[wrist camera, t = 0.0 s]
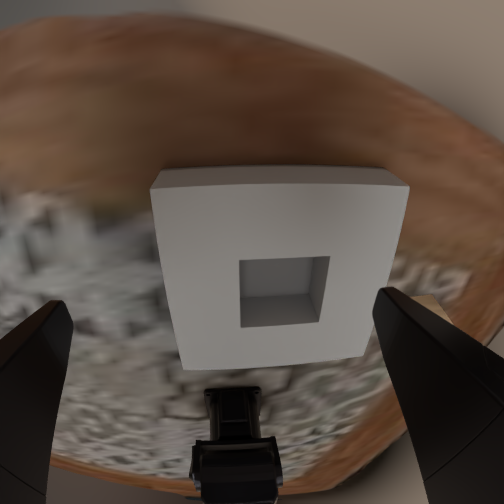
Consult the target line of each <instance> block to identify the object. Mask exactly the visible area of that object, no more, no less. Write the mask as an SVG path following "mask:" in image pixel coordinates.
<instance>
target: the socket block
mask: <svg viewBox="0 0 504 504" xmlns="http://www.w3.org/2000/svg"><path fill="white" fill-rule="evenodd" d="M409 189H410V186H409V185H407V184H406V183H404V182H403V181H402V180H400V179H399V178H398V177H396V176H395V175H393V174H392V173H390V172H389V171H388V170H386V169H385V168H381V167H363V166H341V165H299V164H267V165H224V166H201V167H183V168H168V169H161V171H160V173H159V174H158V176H157V178H156V179H155V181H154V183H153V185H152V186H151V188H150V195H151V203H152V210H153V217H154V224H155V231H156V237H157V243H158V250H159V256H160V261H161V267H162V273H163V278H164V284H165V289H166V294H167V299H168V304H169V309H170V314H171V319H172V323H173V328H174V332H175V337H176V341H177V346H178V350H179V354H180V358H181V362H182V366H183V370H219V369H241V368H258V367H271V366H283V365H294V364H304V363H313V362H321V361H329V360H337V359H344V358H351V357H358V356H363V354H364V351H365V349H366V346H367V343H368V340H369V338H370V335H371V332H372V329H373V326H374V321H373V317H372V310H373V306H374V303H375V299H376V296H377V292H378V290H379V289H380V288H382V287H386V285H387V281H388V278H389V274H390V271H391V267H392V263H393V260H394V256H395V252H396V248H397V244H398V240H399V236H400V231H401V227H402V223H403V218H404V214H405V209H406V204H407V199H408V194H409Z"/></svg>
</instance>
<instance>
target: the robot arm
mask: <svg viewBox="0 0 504 504" xmlns="http://www.w3.org/2000/svg"><path fill="white" fill-rule="evenodd" d="M372 317H373V321H374V324H375V328H376V332H377V335H378V339H379V343H380V347H381V351H382V355H383V358H384V361H385V364H386V367H387V370H388V373H389V375H390V378H391V381H392V384H393V387H394V389H395V392H396V395H397V398H398V401H399V404H400V407H401V410H402V413H403V416H404V419H405V422H406V425H407V428H408V431H409V434H410V437H411V441H412V444H413V447H414V451H415V453H416V457H417V461H418V464H419V467H420V471H421V475H422V478H423V481H424V482H423V483H424V486H425V490H426V494H427V498H428V502H429V504H504V358H502V357H501V356H499V355H497V354H496V353H495V352H493V351H492V350H490V349H489V348H487V347H486V346H483V345H482V344H481V343H480V342H478V341H477V340H475V339H474V338H472V337H471V336H469V335H468V334H466V333H465V332H463V331H462V330H460V329H459V328H457V327H456V326H454V325H453V324H451V323H450V322H448V321H446V320H445V319H443V318H442V317H440V316H439V315H437V314H436V313H434V312H432V311H431V310H429V309H428V308H426V307H425V306H423V305H421V304H420V303H418V302H417V301H415V300H414V299H412V298H410V297H409V296H407V295H406V294H404V293H402V292H401V291H399V290H398V289H396V288H394V287H382V288H380V289H379V290H378V292H377V296H376V299H375V303H374V306H373V310H372ZM72 334H73V321H72V319H71V316H70V314H69V312H68V309H67V307H66V304H65V303H64V302H63V301H62V300H51V301H49V302H48V303H46V304H45V305H44V306H42V307H41V308H40V309H38V310H37V311H36V312H34V313H33V314H32V315H31V316H29V317H28V318H27V319H25V320H24V321H23V322H22V323H20V324H19V325H18V326H16V327H15V328H14V329H13V330H11V331H10V332H9V333H8V334H6V335H5V336H4V337H3V338H2V339H0V504H46V491H47V481H48V471H49V463H50V456H51V449H52V442H53V436H54V430H55V424H56V419H57V414H58V409H59V404H60V399H61V394H62V390H63V385H64V381H65V377H66V372H67V366H68V359H69V352H70V346H71V340H72ZM204 398H205V402H206V407H207V412H208V416H209V418H210V441H201V440H196V445H194V446H192V462H191V467H190V472H189V478H190V479H191V480H192V481H193V482H194V485H195V488H196V491H197V492H201V499H202V501H203V503H204V504H276V502H277V498H278V488H279V487H282V486H283V475H282V467H281V461H280V457H279V452H278V447H277V443H276V438H275V436H271V437H268V438H261V431H260V423H259V416H260V406H261V389H260V388H241V389H219V390H205V391H204Z"/></svg>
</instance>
